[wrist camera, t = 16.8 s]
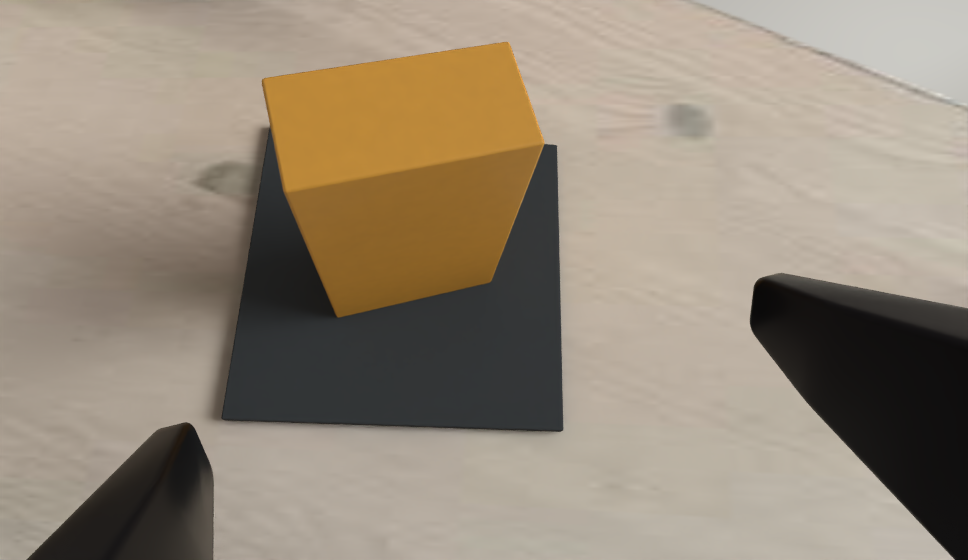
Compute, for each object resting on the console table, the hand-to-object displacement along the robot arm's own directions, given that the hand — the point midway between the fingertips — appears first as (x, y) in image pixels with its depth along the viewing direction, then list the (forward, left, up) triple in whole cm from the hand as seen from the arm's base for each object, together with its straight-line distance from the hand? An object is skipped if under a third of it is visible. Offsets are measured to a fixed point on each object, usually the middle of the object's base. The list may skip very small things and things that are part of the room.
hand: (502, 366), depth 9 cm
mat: (-2, +6, -13) cm, 15 cm away
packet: (-2, +6, -13) cm, 14 cm away
